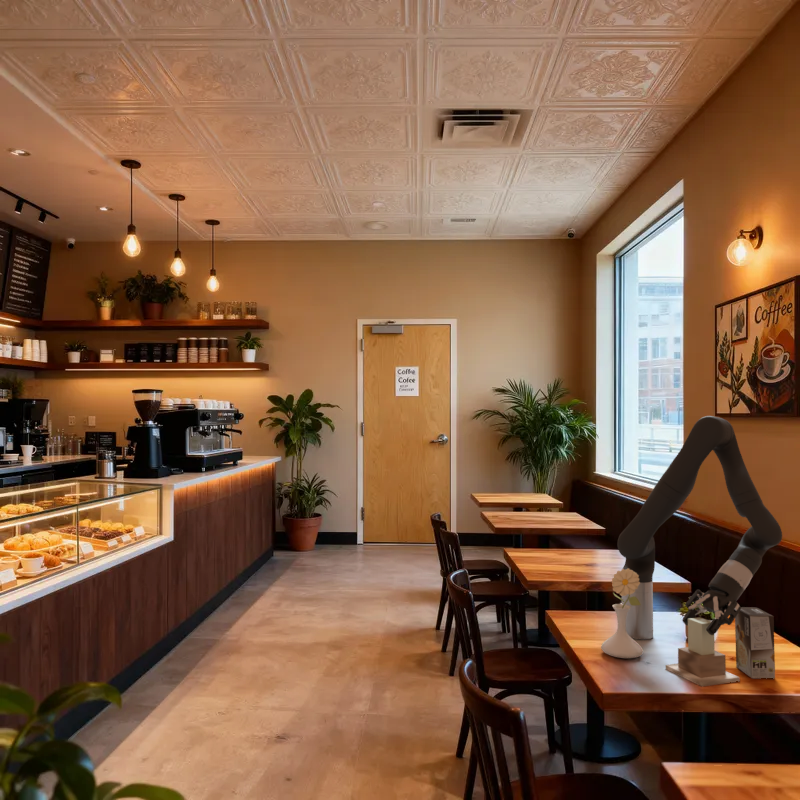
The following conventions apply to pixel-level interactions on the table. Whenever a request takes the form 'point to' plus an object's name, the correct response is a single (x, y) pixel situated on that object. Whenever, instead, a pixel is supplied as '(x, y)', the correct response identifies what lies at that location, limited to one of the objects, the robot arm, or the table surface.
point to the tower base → (703, 680)
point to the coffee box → (755, 642)
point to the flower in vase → (623, 617)
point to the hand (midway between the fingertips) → (696, 628)
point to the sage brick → (700, 636)
